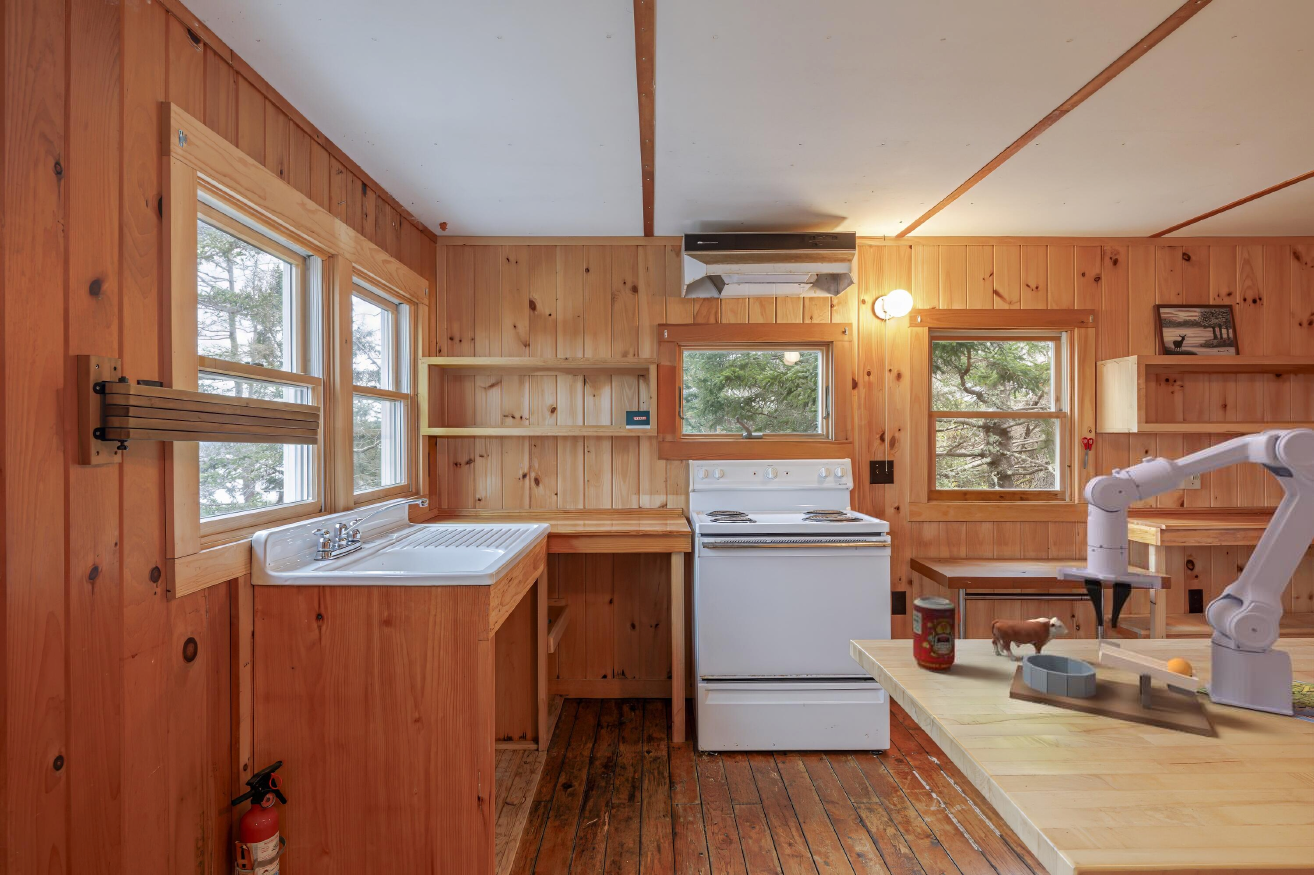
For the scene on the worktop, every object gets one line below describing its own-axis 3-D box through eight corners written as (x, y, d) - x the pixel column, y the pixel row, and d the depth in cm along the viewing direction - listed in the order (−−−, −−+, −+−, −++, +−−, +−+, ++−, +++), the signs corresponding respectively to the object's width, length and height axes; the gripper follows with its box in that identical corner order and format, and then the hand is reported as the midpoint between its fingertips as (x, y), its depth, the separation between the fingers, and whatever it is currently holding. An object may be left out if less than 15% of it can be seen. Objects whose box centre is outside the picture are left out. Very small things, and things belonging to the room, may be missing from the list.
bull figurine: (1071, 665, 121) (1071, 621, 121) (992, 659, 124) (993, 616, 124) (1061, 657, 125) (1062, 614, 125) (986, 652, 128) (986, 610, 128)
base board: (1196, 701, 104) (1196, 663, 104) (1211, 737, 92) (1211, 694, 92) (1017, 670, 118) (1017, 637, 118) (1009, 697, 105) (1009, 660, 105)
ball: (1187, 678, 100) (1193, 660, 100) (1190, 685, 97) (1196, 666, 97) (1163, 670, 102) (1169, 652, 101) (1165, 676, 99) (1171, 658, 99)
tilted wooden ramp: (1183, 673, 107) (1187, 656, 107) (1194, 700, 96) (1199, 680, 96) (1096, 647, 114) (1100, 631, 114) (1097, 670, 103) (1102, 651, 103)
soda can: (929, 675, 115) (930, 605, 115) (905, 661, 122) (905, 596, 122) (963, 671, 117) (964, 603, 117) (937, 659, 124) (937, 594, 124)
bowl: (1095, 682, 109) (1095, 661, 109) (1095, 702, 101) (1096, 680, 101) (1025, 670, 115) (1025, 650, 115) (1020, 688, 107) (1020, 667, 107)
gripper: (1056, 545, 112) (1056, 624, 112) (1163, 554, 104) (1163, 639, 104) (1058, 540, 118) (1057, 615, 118) (1159, 548, 110) (1158, 628, 110)
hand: (1107, 626), depth 111 cm, fingers closed
